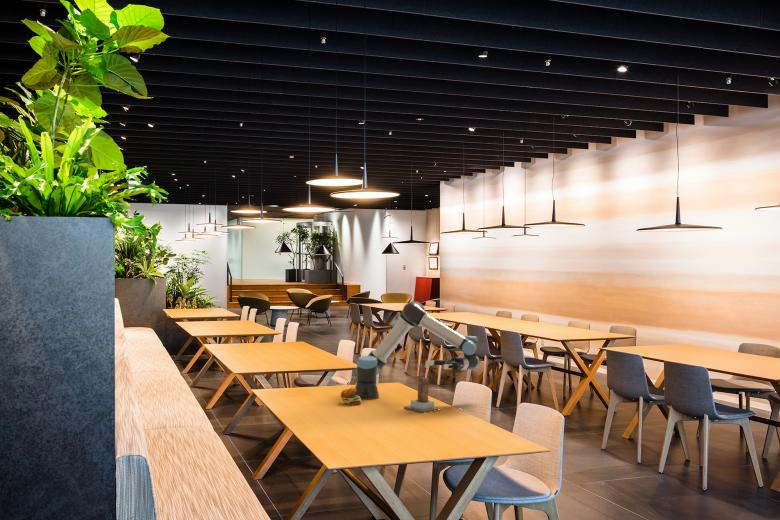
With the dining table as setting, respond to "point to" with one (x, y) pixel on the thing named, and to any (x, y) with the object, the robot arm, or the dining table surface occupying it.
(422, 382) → the walnut post
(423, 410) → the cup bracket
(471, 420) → the dining table surface
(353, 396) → the cheeseburger
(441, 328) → the robot arm
